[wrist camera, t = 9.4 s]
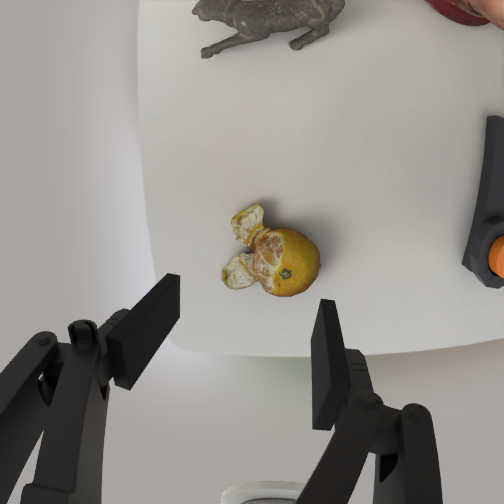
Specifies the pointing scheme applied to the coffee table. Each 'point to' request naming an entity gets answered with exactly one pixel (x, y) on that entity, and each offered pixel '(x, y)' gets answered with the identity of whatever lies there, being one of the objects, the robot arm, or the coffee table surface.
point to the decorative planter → (471, 11)
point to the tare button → (497, 256)
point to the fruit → (271, 257)
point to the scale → (488, 207)
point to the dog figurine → (268, 19)
